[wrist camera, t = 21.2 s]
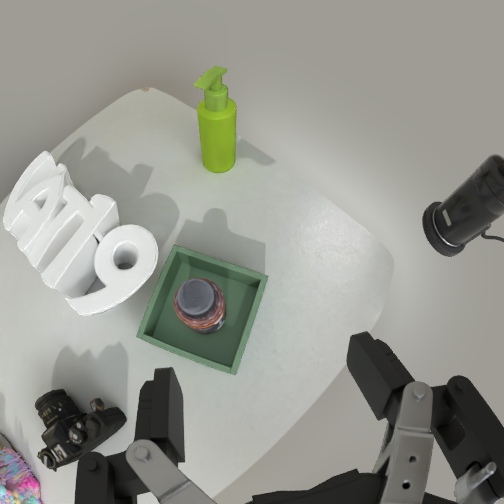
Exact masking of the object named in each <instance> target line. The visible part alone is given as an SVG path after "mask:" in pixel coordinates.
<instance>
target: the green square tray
mask: <svg viewBox="0 0 504 504" xmlns="http://www.w3.org/2000/svg"><path fill="white" fill-rule="evenodd" d="M200 277H201V278H206V279H209V280H211V281H213V282H214V283H216V284H217V285H218V287H219V288H220V289H221V291H222V293H223V296H224V300H225V307H226V318H225V321H224V323H223V325H222V326H221V328H220V329H218V330H217V331H216V332H213V333H211V334H200V333H197V332H195V331H194V330H192V329H191V328H190V327H189V326H187V325H186V324H185V323H184V322H182V321H181V320H180V319H179V317H178V316H177V314H176V312H175V309H174V296H175V293H176V291H177V289H178V288H179V286H180V285H181V284H182V283H184V282H185V281H187V280H189V279H192V278H200ZM267 279H268V276H267V275H263V274H261V273H257V272H254V271H251V270H248V269H245V268H242V267H239V266H236V265H233V264H230V263H227V262H224V261H221V260H218V259H215V258H212V257H209V256H206V255H203V254H200V253H197V252H194V251H191V250H189V249H186V248H183V247H180V246H177V245H174V246H173V248H172V250H171V252H170V255H169V257H168V259H167V261H166V264H165V266H164V268H163V271H162V273H161V275H160V278H159V280H158V282H157V285H156V287H155V290H154V292H153V295H152V297H151V300H150V302H149V305H148V307H147V310H146V312H145V315H144V317H143V320H142V322H141V325H140V328H139V330H138V333H137V336H136V337H138V338H140V339H142V340H144V341H146V342H149V343H151V344H153V345H156V346H158V347H160V348H163V349H165V350H168V351H170V352H172V353H175V354H177V355H180V356H183V357H185V358H188V359H190V360H193V361H196V362H198V363H201V364H204V365H206V366H209V367H212V368H215V369H218V370H221V371H224V372H227V373H230V374H233V375H236V373H237V370H238V367H239V364H240V361H241V358H242V355H243V352H244V349H245V346H246V343H247V340H248V337H249V334H250V331H251V328H252V325H253V322H254V319H255V316H256V313H257V310H258V307H259V304H260V301H261V298H262V295H263V292H264V289H265V285H266V282H267Z"/></svg>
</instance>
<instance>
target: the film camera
mask: <svg viewBox="0 0 504 504" xmlns="http://www.w3.org/2000/svg"><path fill="white" fill-rule="evenodd" d="M93 402H94V404H95V405H96V408H92V407H91V408H92V409H93V410H94V412H93V413H90V414H88V415H87V413H84V414H81V413H80V411H79V410H78V408H77V407H76V406H75V405H74V403H73V401H72V400H71V398H70V397H69V396H67V394H66V392H65V390H63V389H59V390H52V391H50V392H48V393H46V394H44V395H43V396H41V397H40V398H39V399H38V400H37V401H36V403H35V408H36V409H37V410H39V412H38V415H39V416H40V418H41V419H42V420H43V422H44V424H45V426H46V428H47V430H46V431H45V432H44V433H43V434H42V435H41V437H42V439H43V441H44V442H45V444H46V445H47V447H46V448H44V449H42V450H41V452H38V456H37V457H38V458H39V459H41V461H42V463H43V464H44V465H45V466H46V467H47V468H49V469H53V470H54V471H55V472H56V471H57V468H59V467H61V466H64V465H67V464H69V463H72V462H74V461H76V460H79V459H80V458H81V457H82V456H83V455H84V454H85V453H88V452H90V451H92V450H93V449H95V448H96V447H97V446H99V445H100V444H101V443H103V442H104V441H105V440H107V439H108V438H109V437H111V436H112V435H113V434H115V433H116V432H117V431H118V430H119V429H120V428H121V427H122V426H123V425H124V424H125V422H126V421H127V419H126V417H125V415H124V413H123V412H122V411H121V410H120V409H119V408H117V407H115V408H109V409H106V410H105V409H104V402H103V401H102V400H101V399H100V398H94V399H92V400H91V402H90V405H91V404H92V403H93Z"/></svg>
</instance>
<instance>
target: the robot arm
mask: <svg viewBox="0 0 504 504" xmlns="http://www.w3.org/2000/svg"><path fill="white" fill-rule="evenodd" d="M502 214H504V158H503V157H502V156H499V155H495V154H494V155H491V156H489V157H488V158H487V159H486V160H485V161H484V162H483V163H482V164H481V165H480V166H479V167H478V169H477V170H476V171H475V172H474V173H473V174H472V175H471V176H470V177H469V178H468V179H467V180H466V181H465V182H464V183H463V184H462V185H461V186H459V187H458V188H457V189H456V190H455V191H454V192H453V193H452V194H451V195H450V196H449V197H448V198H447V199H446V200H445V201H444V202H442V203H441V204H440V205H439V206H437V207H436V208H435V209H434V210H433V212H432V218H431V219H432V225H433V228H434V231H435V233H436V235H437V236H438V238H439V239H440V240H441V241H442V242H443V243H444V244H445V245H447V246H449V247H453V248H455V247H458V246H460V245H461V246H464V245H465V244H467V243H468V242H470V241H471V240H473V239H474V238H476V237H477V236H479V235H480V234H481V236H482V237H483V238H485V239H496V240H500V241H502V242H504V239H503V238H501V237H497V236H487V235H485V231H486V230H488V229H489V228H490V227H491V223H492V222H493V221H495V220H496V219H497V218H499V217H500V216H501V215H502ZM347 366H348V369H349V371H350V373H351V375H352V376H353V378H354V379H355V381H356V383H357V385H358V387H359V388H360V390H361V392H362V393H363V395H364V397H365V399H366V400H367V402H368V404H369V405H370V407H371V409H372V411H373V412H374V414H375V416H376V418H377V420H381V419H383V418H387V420H388V423H387V427H386V431H385V435H384V439H383V443H382V446H381V450H380V454H379V457H378V460H377V462H376V464H375V466H374V469H373V471H372V473H359V472H358V470H357V469H354V470H351V471H348V472H346V473H343V474H340V475H337V476H334V477H332V478H330V479H328V480H326V481H325V482H323V483H321V484H319V485H317V486H315V487H314V488H312V489H309V490H303V491H276V492H271V493H265V494H260V495H254V496H252V498H253V500H252V501H250V502H247V503H245V504H496V503H498V502H499V501H501V500H503V499H504V427H503V426H502V424H501V423H500V421H499V420H498V418H497V417H496V415H495V414H494V413H493V411H492V410H491V408H490V407H489V405H488V404H487V403H486V401H485V400H484V399H483V397H482V396H481V395H480V393H479V392H478V390H477V389H476V388H475V387H474V385H473V384H472V383H471V381H470V380H469V379H468V378H466V377H464V376H459V375H458V376H454V377H452V378H451V379H450V380H449V381H448V383H447V385H442V386H436V387H429V386H428V385H427V384H425V383H423V382H418V381H415V380H414V379H413V377H412V376H411V375H410V373H409V372H408V371H407V369H406V368H405V367H404V365H403V364H402V363H401V362H400V360H399V359H398V358H397V356H396V355H395V354H393V351H392V350H391V349H390V347H389V346H388V345H387V344H386V343H384V342H383V341H381V340H379V339H376V340H374V339H373V338H372V336H371V335H370V334H369V333H368V332H367V331H366V332H362V333H358V334H355V335H352V336H351V337H350V342H349V348H348V353H347ZM456 416H457V417H456ZM461 424H462V425H461ZM463 427H464V428H463ZM430 430H431V432H430ZM434 437H435V439H436V441H437V443H438V445H439V446H440V448H441V450H442V452H443V454H444V456H445V457H446V459H447V461H448V463H449V464H450V467H451V469H452V471H453V473H454V474H455V476H456V478H457V482H456V484H455V491H454V496H455V497H456V502H454V501H451V500H447V499H444V498H441V497H438V496H435V495H432V494H429V493H427V492H425V488H426V483H427V478H428V473H429V468H430V462H431V456H432V449H433V442H434ZM178 462H185V451H184V417H183V394H182V390H181V387H180V385H179V382H178V380H177V377H176V374H175V372H174V369H173V368H172V367H169V368H157V369H155V372H154V380H153V381H146V382H145V383H144V385H143V386H142V388H141V390H140V396H139V403H138V411H137V420H136V429H135V438H134V441H133V443H131V444H130V445H129V446H128V448H127V450H126V451H124V452H121V453H118V454H114V455H110V456H106V457H104V456H103V455H102V454H100V453H98V452H88V453H85V454H84V455H83V456H82V457H81V458H80V459H79V461H78V467H77V477H76V489H75V504H137V495H139V494H143V493H147V492H152V493H153V494H154V496H155V497H156V498H157V499H158V502H159V503H160V504H217V503H216V502H215V501H213V500H212V499H211V498H210V497H209V496H208V495H207V494H205V493H204V492H203V491H202V490H201V489H200V488H199V487H198V486H197V485H196V484H195V483H193V482H192V481H191V480H190V479H188V478H187V477H186V476H185V475H184V474H183V473H182V472H181V471H180V470H179V469H178Z"/></svg>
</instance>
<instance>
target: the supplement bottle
mask: <svg viewBox="0 0 504 504" xmlns="http://www.w3.org/2000/svg"><path fill="white" fill-rule="evenodd" d="M174 309H175V312H176V314H177V316H178V317H179V319H180V320H181V321H182V322H184V323H185V324H186V325H187V326H189V327H190V328H191V329H192V330H194V331H195V332H197V333H200V334H211V333H213V332H216V331H217V330H218V329H220V328H221V326H222V325H223V323H224V321H225V318H226V307H225V300H224V296H223V293H222V291H221V289H220V288H219V287H218V285H217V284H216V283H214V282H213V281H211V280H209V279H206V278H201V277H200V278H192V279H189V280H187V281H185V282H184V283H182V284H181V285H180V286H179V288H178V289H177V291H176V293H175V296H174Z"/></svg>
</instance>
